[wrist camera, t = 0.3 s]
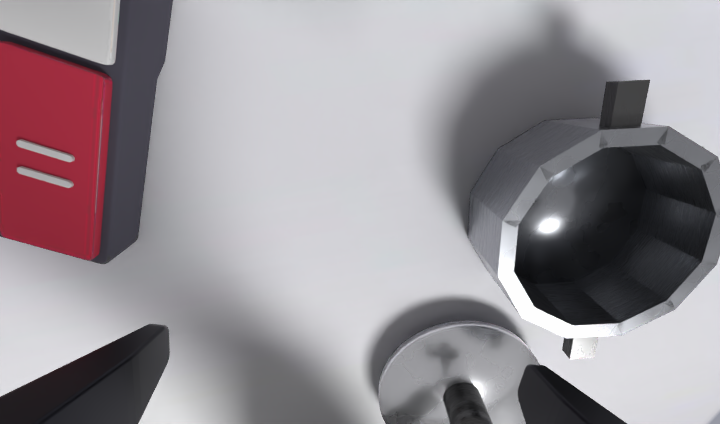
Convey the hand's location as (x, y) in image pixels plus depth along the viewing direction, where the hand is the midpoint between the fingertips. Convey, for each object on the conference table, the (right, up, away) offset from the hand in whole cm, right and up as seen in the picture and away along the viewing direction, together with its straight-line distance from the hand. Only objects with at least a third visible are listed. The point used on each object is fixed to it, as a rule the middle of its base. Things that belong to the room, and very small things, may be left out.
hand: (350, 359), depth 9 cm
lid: (+7, -9, +18) cm, 21 cm away
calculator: (-17, +10, +11) cm, 22 cm away
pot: (+13, +4, +14) cm, 19 cm away
